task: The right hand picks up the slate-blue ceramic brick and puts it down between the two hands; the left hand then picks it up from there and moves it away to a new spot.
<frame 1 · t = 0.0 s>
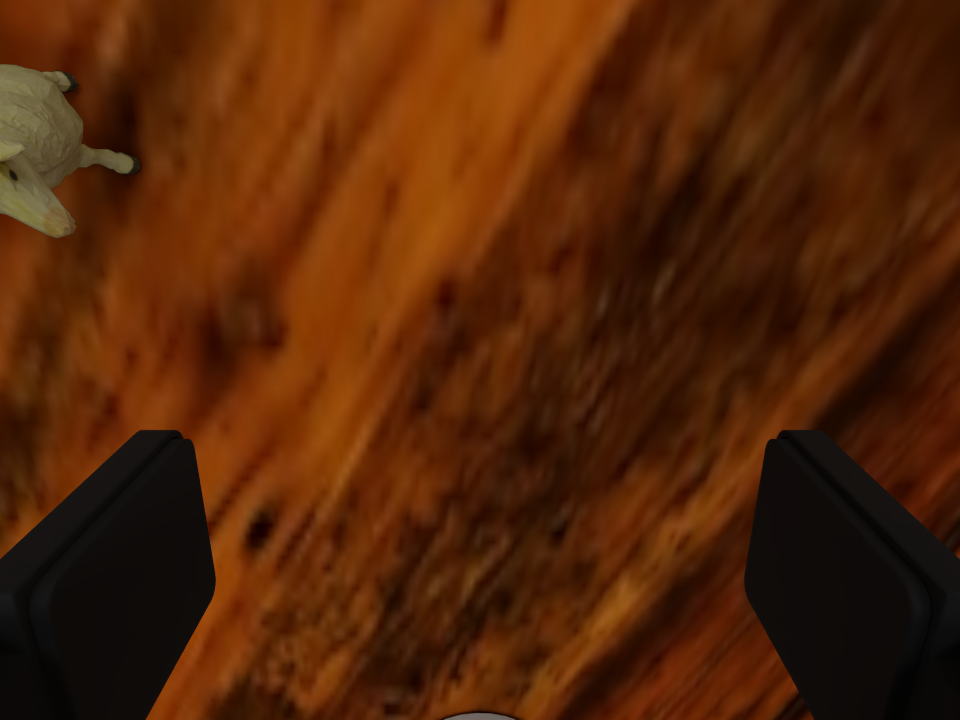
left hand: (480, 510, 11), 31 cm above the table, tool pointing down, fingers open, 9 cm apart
toy: (41, 114, 38), on the table
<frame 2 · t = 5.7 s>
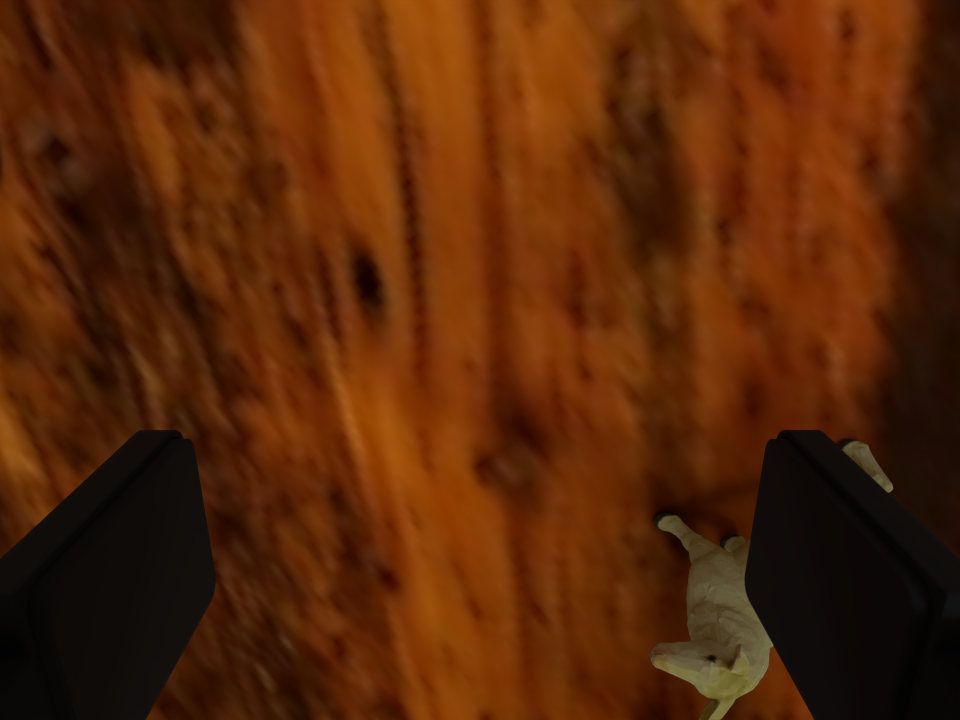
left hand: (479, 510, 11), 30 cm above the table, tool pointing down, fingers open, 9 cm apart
toy: (739, 507, 46), on the table
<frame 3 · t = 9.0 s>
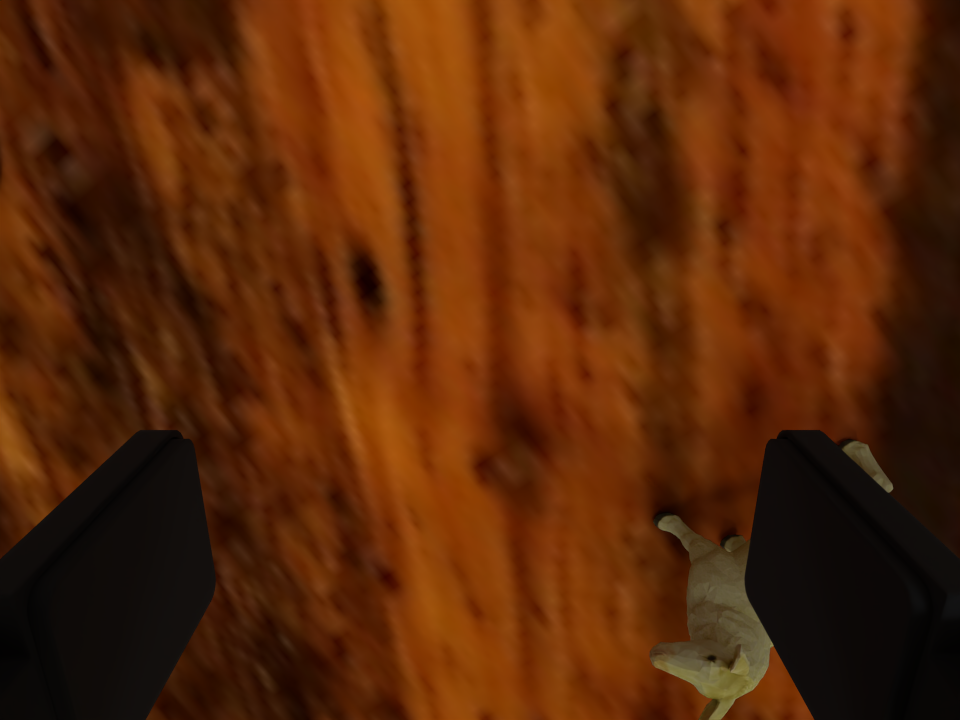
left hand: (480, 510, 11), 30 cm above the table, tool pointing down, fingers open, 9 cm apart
toy: (739, 507, 46), on the table
when the right hand's fingers open (5 cm above the table, at t = 12.6 s): brick drops 1 cm, on the table.
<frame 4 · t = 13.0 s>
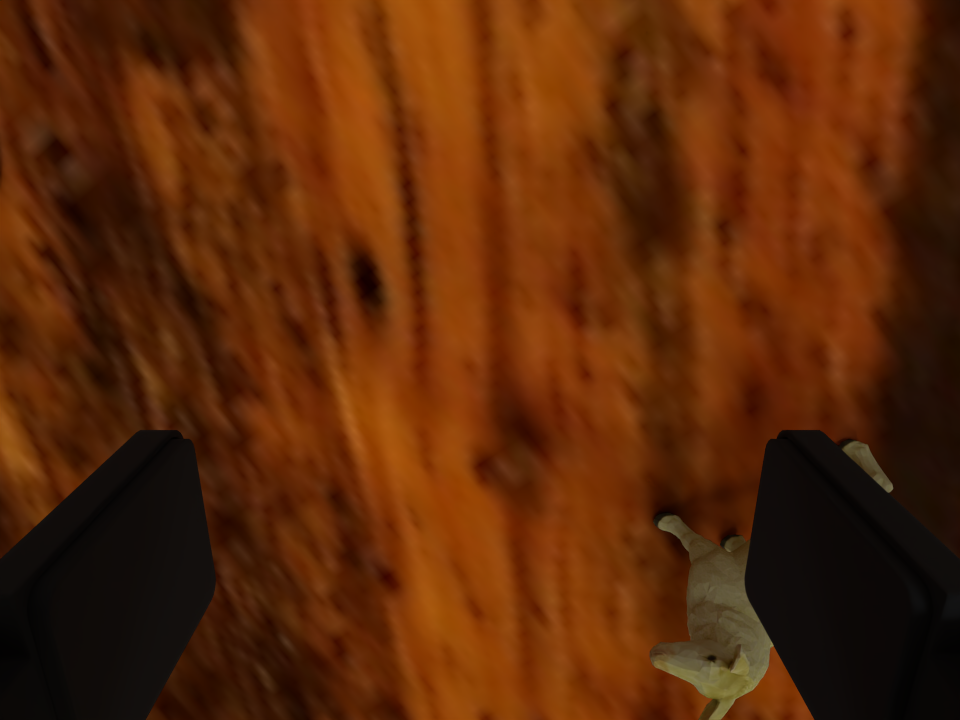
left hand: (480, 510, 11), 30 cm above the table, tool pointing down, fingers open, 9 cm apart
toy: (739, 507, 46), on the table
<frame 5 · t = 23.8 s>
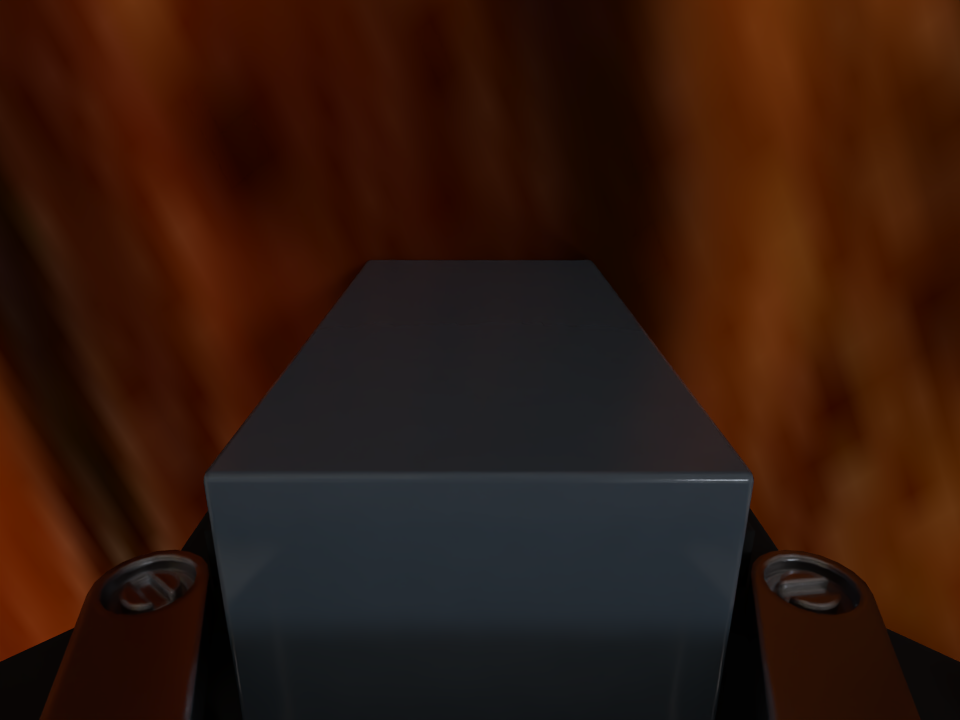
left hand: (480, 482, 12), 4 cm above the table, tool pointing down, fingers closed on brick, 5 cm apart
brick: (479, 393, 16), on the table, touching left hand
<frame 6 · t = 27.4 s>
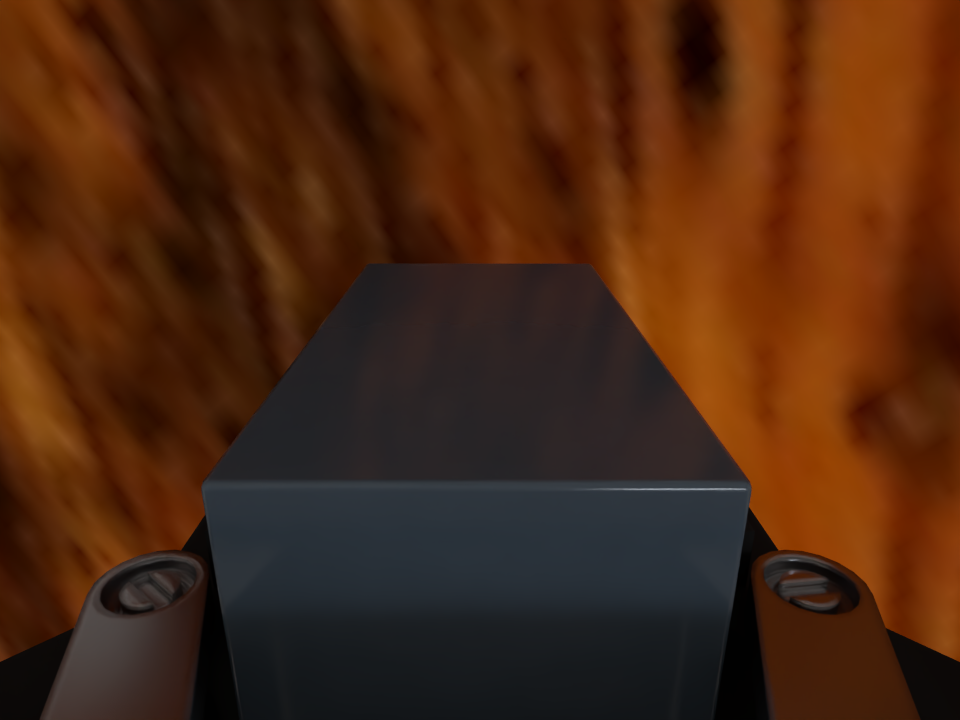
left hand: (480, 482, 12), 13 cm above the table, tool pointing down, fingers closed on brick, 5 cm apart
brick: (478, 396, 16), point 9 cm above the table, touching left hand
when the left hand's fingers open (5 cm above the table, at t = 31.0 s): brick drops 1 cm, on the table.
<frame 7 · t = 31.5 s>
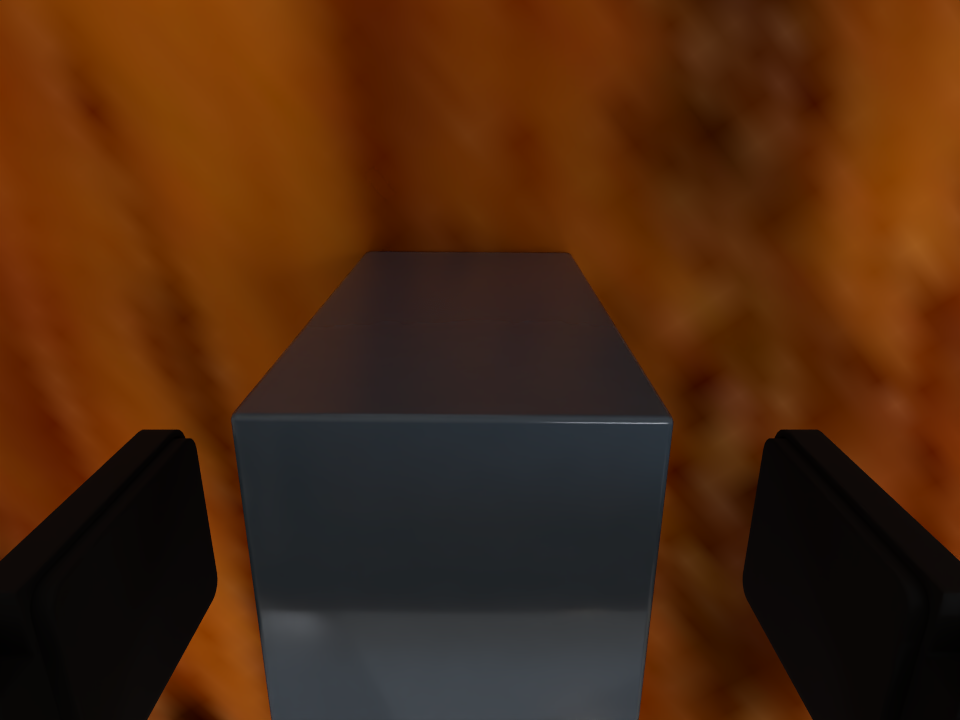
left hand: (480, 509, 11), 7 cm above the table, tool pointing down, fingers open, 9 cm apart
brick: (468, 374, 17), on the table
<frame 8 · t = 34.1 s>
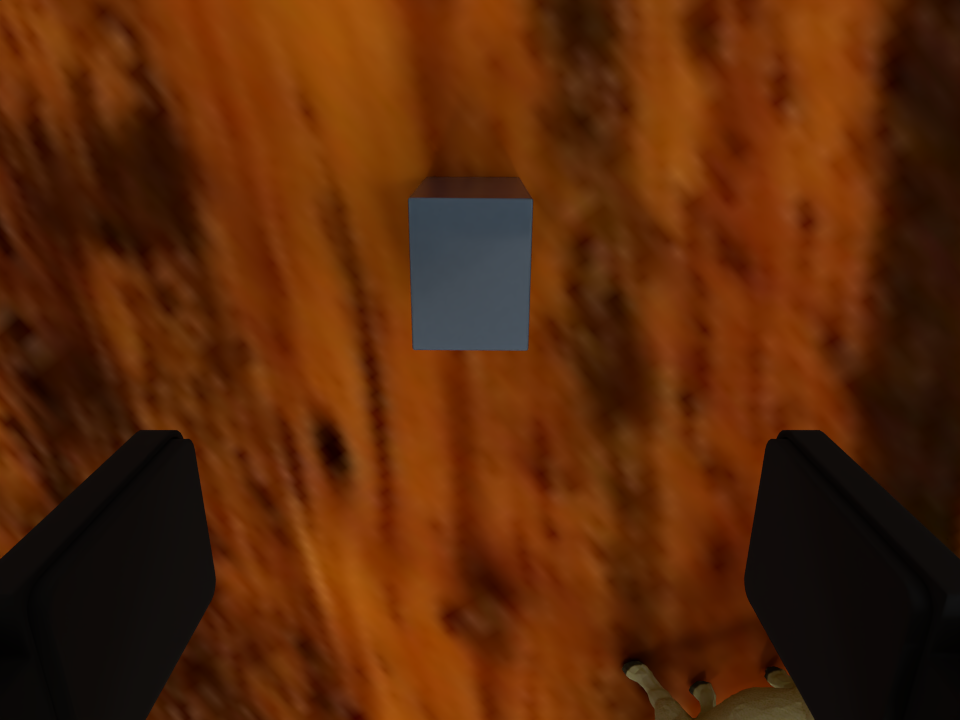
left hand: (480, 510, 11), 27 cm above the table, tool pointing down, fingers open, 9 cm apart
brick: (472, 237, 36), on the table
toy: (707, 655, 46), on the table
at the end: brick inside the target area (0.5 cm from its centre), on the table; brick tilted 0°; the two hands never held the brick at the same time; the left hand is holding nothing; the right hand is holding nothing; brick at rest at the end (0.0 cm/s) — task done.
